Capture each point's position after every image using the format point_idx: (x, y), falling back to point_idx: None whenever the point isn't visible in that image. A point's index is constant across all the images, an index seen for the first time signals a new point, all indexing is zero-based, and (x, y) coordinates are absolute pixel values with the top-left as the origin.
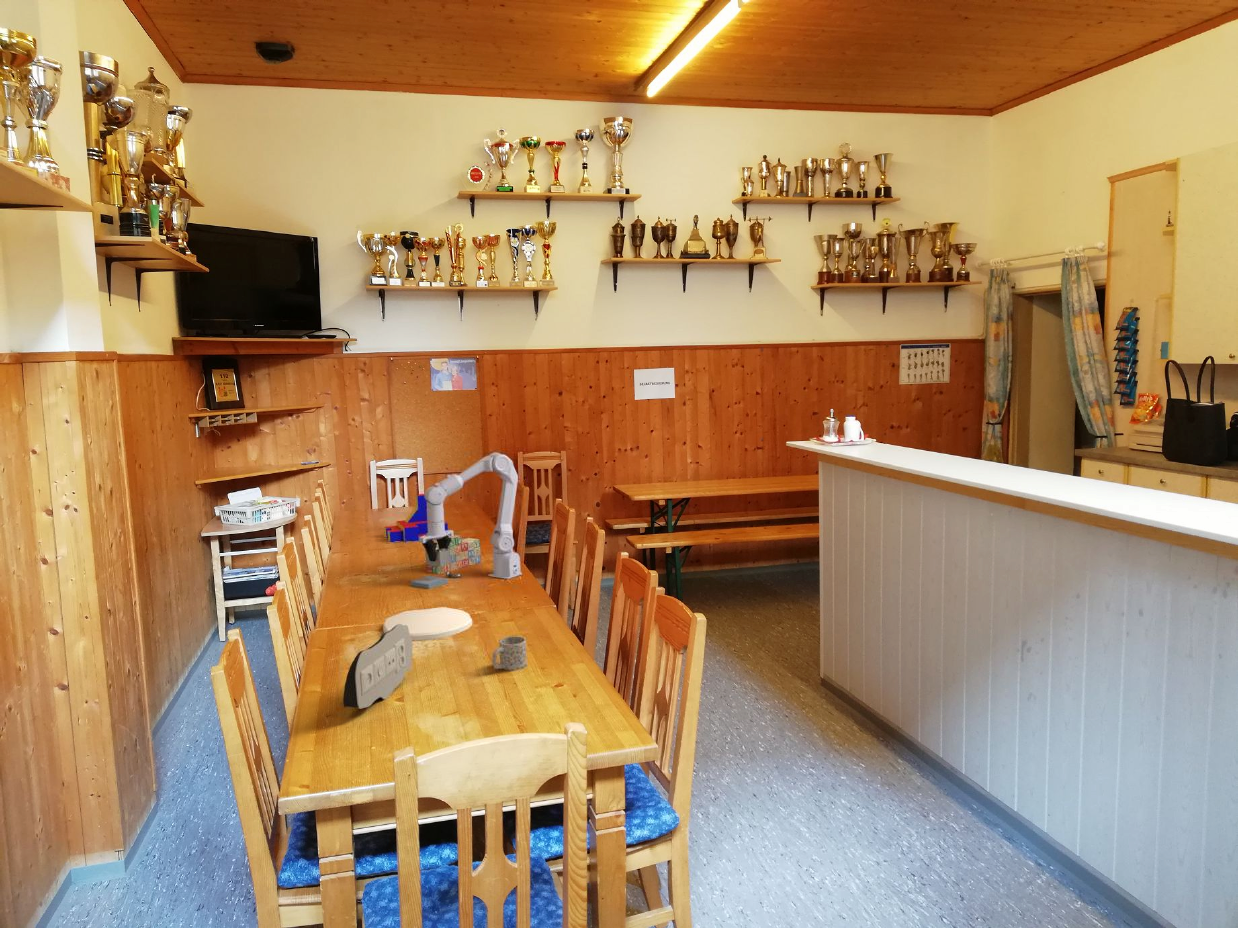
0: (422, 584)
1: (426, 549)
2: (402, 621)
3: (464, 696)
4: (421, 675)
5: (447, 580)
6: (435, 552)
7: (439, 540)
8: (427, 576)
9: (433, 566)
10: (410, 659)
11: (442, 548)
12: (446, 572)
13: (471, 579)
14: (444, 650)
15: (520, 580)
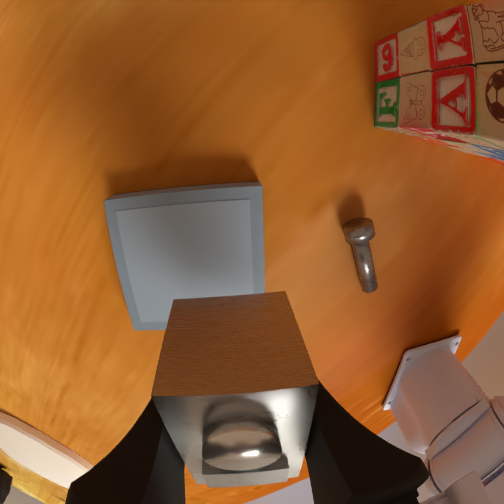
0: (124, 290)
1: (121, 453)
2: (3, 448)
3: (44, 496)
4: (21, 476)
5: None
6: (183, 465)
7: (335, 499)
8: (243, 188)
9: (397, 90)
10: (11, 483)
11: (272, 475)
12: (355, 234)
13: (354, 340)
14: (46, 479)
15: (378, 425)
